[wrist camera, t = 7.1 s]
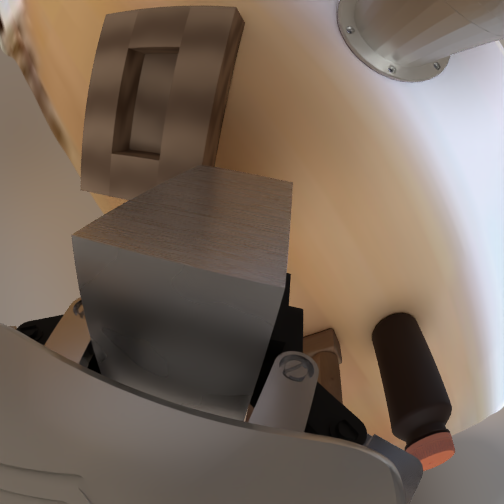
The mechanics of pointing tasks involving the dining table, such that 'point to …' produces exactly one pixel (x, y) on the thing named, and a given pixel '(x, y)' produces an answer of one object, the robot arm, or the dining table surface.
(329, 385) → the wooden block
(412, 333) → the bottle
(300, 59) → the dining table surface
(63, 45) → the dining table surface
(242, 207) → the grey bar
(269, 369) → the robot arm
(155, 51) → the post base
